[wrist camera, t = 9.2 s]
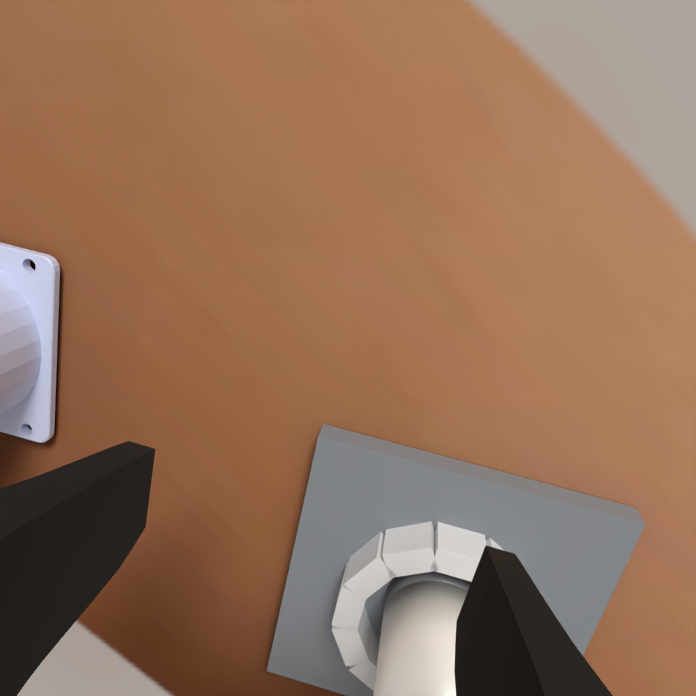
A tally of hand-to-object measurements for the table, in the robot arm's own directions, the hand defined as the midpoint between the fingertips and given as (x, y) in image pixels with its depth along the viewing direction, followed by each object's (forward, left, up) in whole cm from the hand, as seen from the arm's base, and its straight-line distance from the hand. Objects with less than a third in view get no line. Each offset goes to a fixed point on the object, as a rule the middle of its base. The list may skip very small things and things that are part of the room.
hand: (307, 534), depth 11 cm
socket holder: (+5, -8, -9) cm, 13 cm away
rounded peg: (+5, -8, -8) cm, 13 cm away
